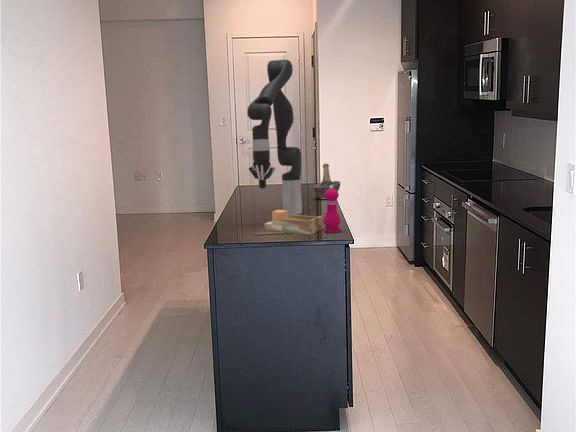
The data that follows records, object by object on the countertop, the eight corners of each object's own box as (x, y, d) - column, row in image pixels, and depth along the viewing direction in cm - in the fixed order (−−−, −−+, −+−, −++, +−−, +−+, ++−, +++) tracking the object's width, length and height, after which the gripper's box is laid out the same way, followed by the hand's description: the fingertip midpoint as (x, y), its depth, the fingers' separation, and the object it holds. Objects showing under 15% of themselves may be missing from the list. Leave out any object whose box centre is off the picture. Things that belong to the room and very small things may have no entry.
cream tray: (277, 225, 280) (276, 212, 279) (322, 229, 269) (322, 215, 268) (264, 230, 271) (264, 216, 270) (311, 234, 260) (311, 220, 259)
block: (278, 220, 276) (277, 209, 275) (288, 221, 274) (287, 210, 273) (272, 222, 272) (272, 211, 271) (282, 223, 269) (282, 212, 268)
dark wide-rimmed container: (340, 196, 356) (340, 161, 352) (340, 200, 340) (339, 165, 336) (315, 196, 357) (314, 162, 354) (313, 201, 341) (312, 165, 337)
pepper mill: (326, 229, 269) (325, 184, 265) (342, 229, 267) (341, 184, 263) (322, 232, 262) (321, 186, 258) (338, 233, 260) (337, 186, 256)
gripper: (278, 148, 271) (279, 187, 274) (253, 148, 277) (254, 186, 280) (269, 150, 264) (271, 190, 268) (243, 150, 271) (245, 188, 274)
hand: (262, 188), depth 274 cm, fingers closed
